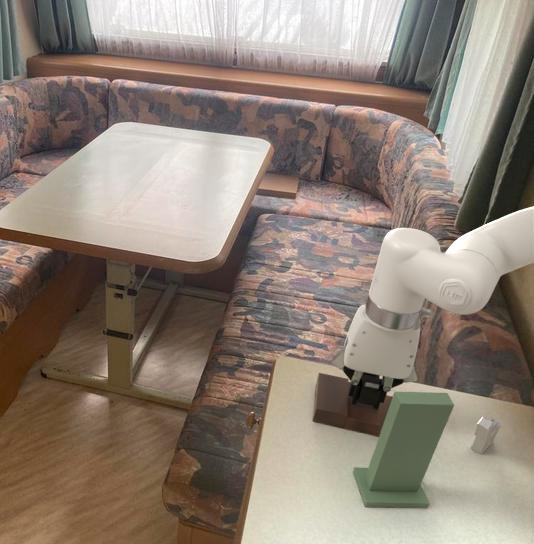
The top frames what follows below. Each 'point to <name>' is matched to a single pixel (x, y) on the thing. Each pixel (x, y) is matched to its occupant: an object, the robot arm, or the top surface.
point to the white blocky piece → (485, 434)
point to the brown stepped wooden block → (346, 407)
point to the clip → (369, 389)
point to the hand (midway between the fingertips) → (364, 400)
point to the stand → (404, 450)
